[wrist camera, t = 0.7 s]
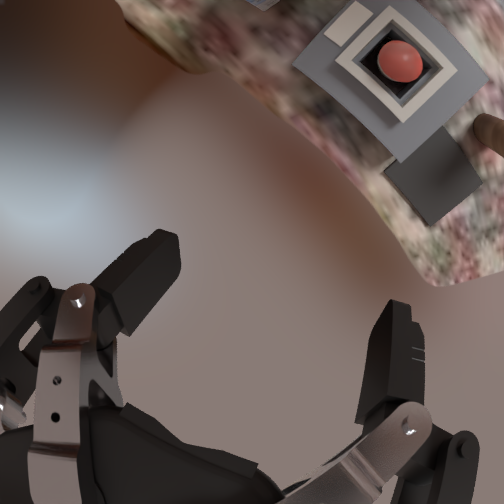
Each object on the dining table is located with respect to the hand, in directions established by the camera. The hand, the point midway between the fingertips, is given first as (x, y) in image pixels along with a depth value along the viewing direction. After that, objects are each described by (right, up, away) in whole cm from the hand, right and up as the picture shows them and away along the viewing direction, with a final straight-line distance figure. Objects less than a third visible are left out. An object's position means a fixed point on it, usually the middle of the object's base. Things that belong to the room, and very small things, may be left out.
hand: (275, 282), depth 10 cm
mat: (+20, +10, +16) cm, 27 cm away
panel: (+13, +20, +11) cm, 27 cm away
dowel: (+25, +15, +10) cm, 30 cm away
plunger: (+13, +19, +9) cm, 24 cm away
